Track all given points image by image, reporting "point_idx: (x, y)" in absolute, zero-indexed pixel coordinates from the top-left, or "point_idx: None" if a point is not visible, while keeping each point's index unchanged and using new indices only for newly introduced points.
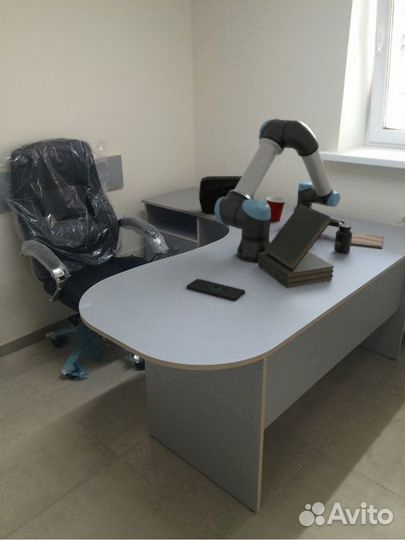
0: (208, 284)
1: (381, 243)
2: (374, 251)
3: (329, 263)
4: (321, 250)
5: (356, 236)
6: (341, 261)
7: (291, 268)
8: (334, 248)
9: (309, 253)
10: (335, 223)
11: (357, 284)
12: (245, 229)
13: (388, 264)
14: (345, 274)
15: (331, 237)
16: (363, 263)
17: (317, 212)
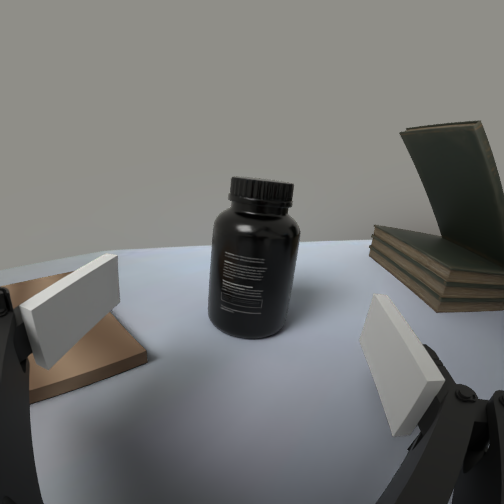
0: None
1: (41, 278)
2: (124, 279)
3: (380, 228)
4: (342, 350)
5: None
6: (307, 281)
7: (446, 238)
8: (286, 314)
9: (422, 248)
10: (14, 367)
11: (326, 242)
12: None
13: (191, 246)
14: (332, 256)
15: (87, 492)
16: None
17: (429, 127)
